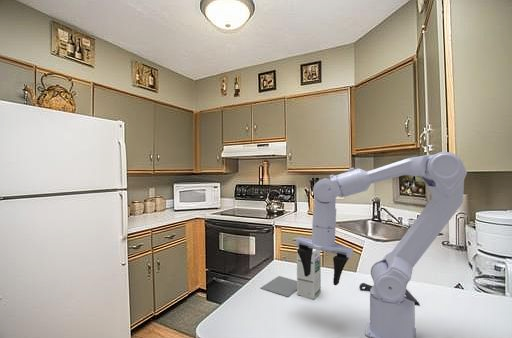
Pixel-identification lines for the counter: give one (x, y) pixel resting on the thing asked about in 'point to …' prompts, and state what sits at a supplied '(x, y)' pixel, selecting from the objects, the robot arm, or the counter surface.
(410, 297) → the bracket
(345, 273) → the counter surface
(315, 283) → the syrup box
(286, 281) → the mat
